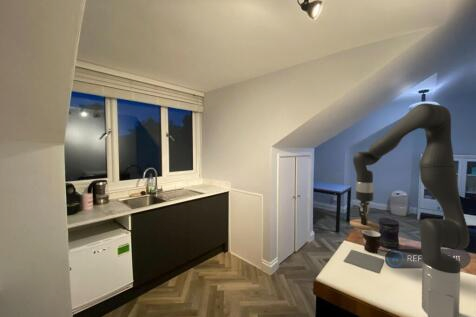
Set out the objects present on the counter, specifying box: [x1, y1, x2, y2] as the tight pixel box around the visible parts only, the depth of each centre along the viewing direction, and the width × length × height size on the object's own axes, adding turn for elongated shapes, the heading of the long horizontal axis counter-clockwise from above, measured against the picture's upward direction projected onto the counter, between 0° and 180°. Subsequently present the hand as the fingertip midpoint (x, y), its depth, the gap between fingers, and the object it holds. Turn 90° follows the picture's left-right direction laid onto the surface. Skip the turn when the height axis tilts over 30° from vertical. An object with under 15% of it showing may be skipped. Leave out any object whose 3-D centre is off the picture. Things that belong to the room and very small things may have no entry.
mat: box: [343, 249, 385, 274], centre depth 103 cm, size 15×15×1 cm
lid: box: [349, 214, 380, 231], centre depth 103 cm, size 13×13×5 cm
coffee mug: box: [361, 229, 381, 254], centre depth 111 cm, size 12×9×10 cm
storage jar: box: [377, 217, 400, 251], centre depth 117 cm, size 10×10×15 cm
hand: (364, 223), depth 103 cm, fingers closed on lid, 2 cm apart
